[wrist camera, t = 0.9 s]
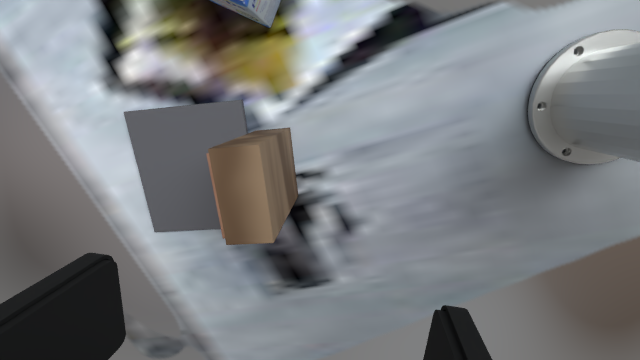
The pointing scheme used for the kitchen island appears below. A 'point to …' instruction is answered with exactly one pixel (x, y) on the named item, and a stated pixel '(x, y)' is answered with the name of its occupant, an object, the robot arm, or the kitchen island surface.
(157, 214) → the charcoal mat
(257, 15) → the medicine box
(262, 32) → the kitchen island surface
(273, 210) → the brown wooden block
